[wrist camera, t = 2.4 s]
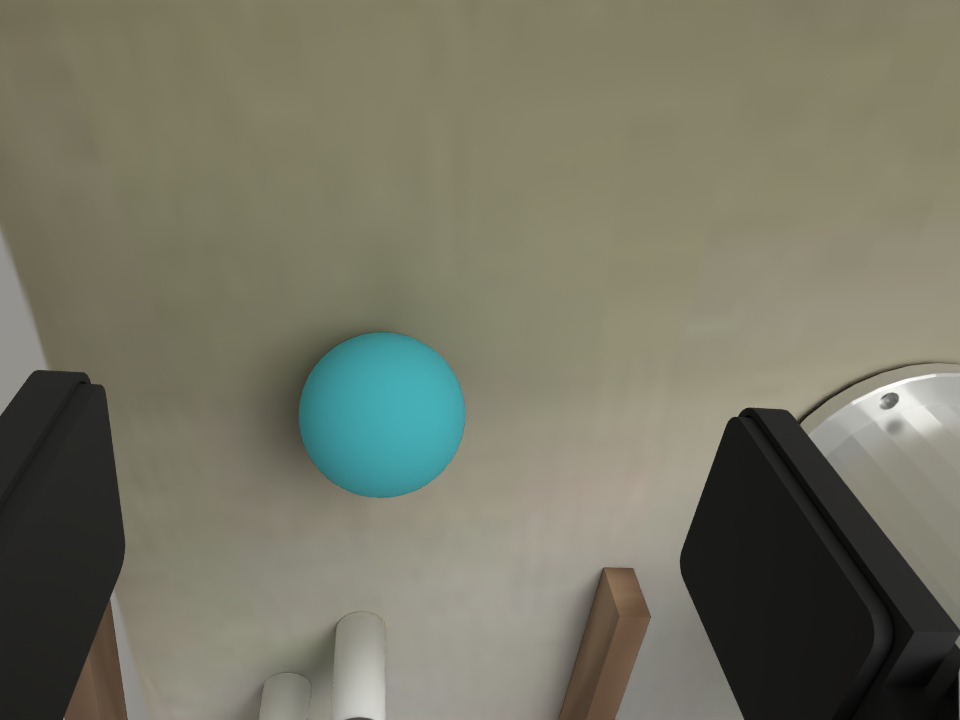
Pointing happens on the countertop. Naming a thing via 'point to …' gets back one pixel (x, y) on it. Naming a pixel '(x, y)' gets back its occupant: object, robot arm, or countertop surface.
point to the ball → (381, 414)
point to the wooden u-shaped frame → (589, 697)
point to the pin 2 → (359, 668)
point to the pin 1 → (285, 698)
